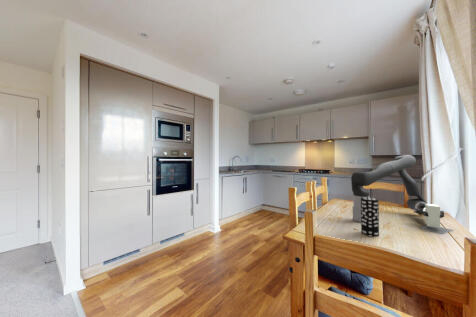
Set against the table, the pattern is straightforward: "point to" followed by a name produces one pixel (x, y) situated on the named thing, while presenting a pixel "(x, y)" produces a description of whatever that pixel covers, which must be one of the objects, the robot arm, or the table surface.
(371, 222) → the spotted tube
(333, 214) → the table surface
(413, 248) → the table surface
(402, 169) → the robot arm
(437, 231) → the mat
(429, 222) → the sage block
